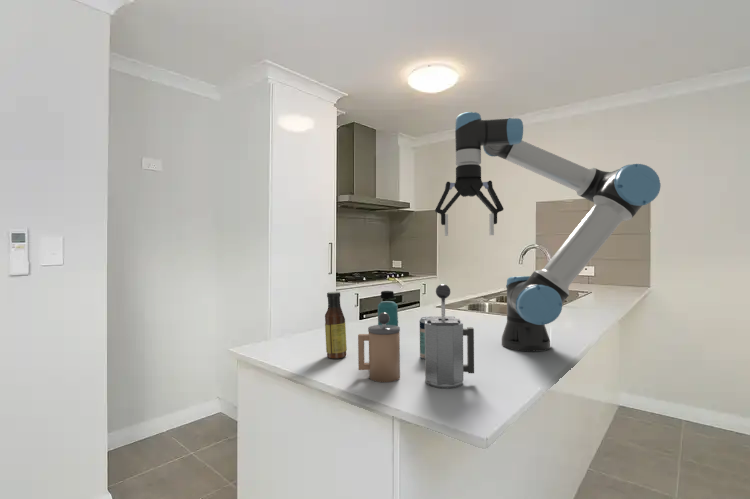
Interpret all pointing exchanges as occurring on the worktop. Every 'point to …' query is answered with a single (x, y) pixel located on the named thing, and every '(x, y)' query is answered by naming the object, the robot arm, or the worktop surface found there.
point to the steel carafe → (447, 352)
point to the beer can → (422, 336)
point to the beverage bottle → (388, 308)
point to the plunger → (443, 297)
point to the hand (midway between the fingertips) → (468, 235)
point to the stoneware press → (381, 351)
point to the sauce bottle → (335, 328)
